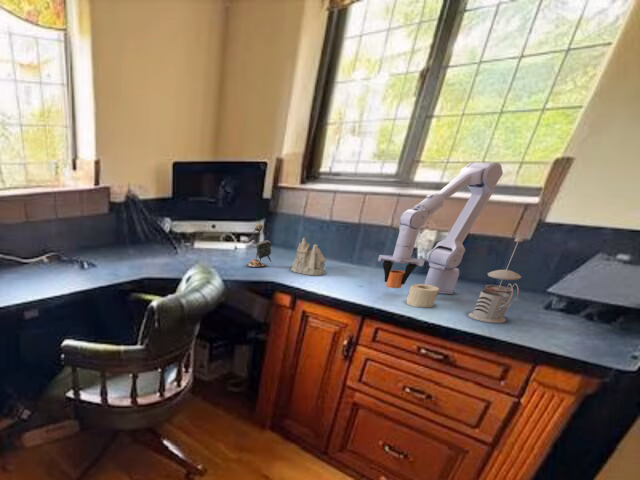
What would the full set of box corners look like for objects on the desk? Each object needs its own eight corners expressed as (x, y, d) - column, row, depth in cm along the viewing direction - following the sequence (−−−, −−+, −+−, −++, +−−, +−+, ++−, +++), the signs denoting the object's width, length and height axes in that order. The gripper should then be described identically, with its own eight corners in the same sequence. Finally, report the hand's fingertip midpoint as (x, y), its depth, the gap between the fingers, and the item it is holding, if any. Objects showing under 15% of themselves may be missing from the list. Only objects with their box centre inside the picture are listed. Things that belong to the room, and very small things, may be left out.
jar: (429, 301, 151) (435, 284, 148) (436, 308, 145) (442, 291, 142) (403, 299, 154) (408, 283, 151) (409, 306, 147) (414, 289, 144)
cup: (399, 284, 160) (404, 270, 158) (402, 288, 156) (407, 273, 153) (384, 284, 162) (388, 269, 159) (387, 287, 158) (391, 273, 155)
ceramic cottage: (315, 276, 183) (322, 240, 177) (283, 270, 195) (289, 237, 189) (335, 272, 192) (342, 238, 185) (303, 267, 204) (309, 235, 197)
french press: (491, 312, 140) (524, 234, 128) (518, 324, 130) (556, 241, 118) (461, 312, 140) (490, 234, 128) (485, 325, 130) (520, 241, 118)
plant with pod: (269, 268, 198) (275, 223, 188) (245, 267, 202) (250, 223, 192) (271, 264, 204) (277, 221, 195) (247, 263, 208) (252, 220, 199)
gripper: (379, 244, 154) (370, 281, 160) (425, 249, 145) (413, 288, 151) (385, 241, 158) (376, 277, 165) (430, 246, 149) (418, 284, 156)
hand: (394, 282), depth 158 cm, fingers closed on cup, 5 cm apart
